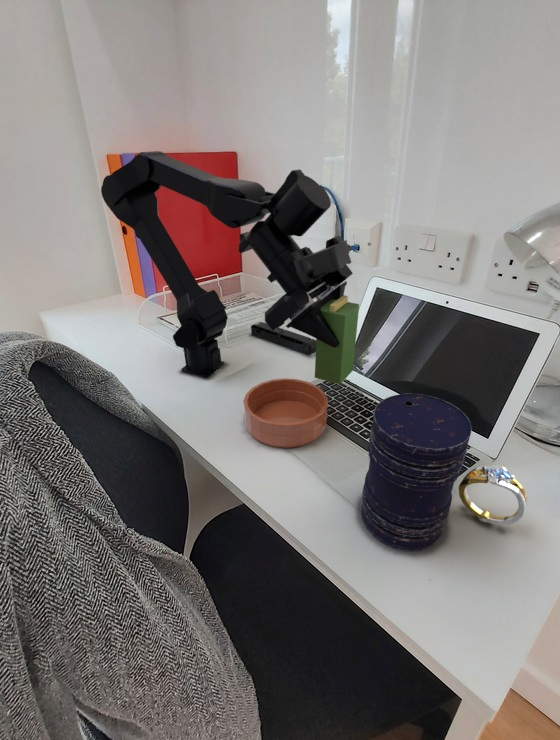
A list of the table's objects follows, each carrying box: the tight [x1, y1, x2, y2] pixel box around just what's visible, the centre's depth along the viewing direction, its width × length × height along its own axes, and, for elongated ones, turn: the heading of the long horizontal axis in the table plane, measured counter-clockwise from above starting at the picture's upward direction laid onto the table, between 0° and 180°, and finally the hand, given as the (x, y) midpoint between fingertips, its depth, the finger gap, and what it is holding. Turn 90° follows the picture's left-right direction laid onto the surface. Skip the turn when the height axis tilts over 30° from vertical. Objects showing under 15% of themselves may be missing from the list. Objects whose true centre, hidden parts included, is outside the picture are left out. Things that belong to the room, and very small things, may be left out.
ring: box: [458, 464, 529, 526], centre depth 48 cm, size 7×3×8 cm, turn 47°
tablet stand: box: [250, 321, 316, 357], centre depth 92 cm, size 18×3×3 cm, turn 49°
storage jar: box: [360, 393, 473, 552], centre depth 46 cm, size 10×10×15 cm
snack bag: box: [314, 294, 360, 386], centre depth 63 cm, size 4×5×12 cm
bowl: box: [243, 377, 329, 449], centre depth 66 cm, size 13×13×4 cm
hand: (344, 339), depth 63 cm, fingers closed on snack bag, 5 cm apart
